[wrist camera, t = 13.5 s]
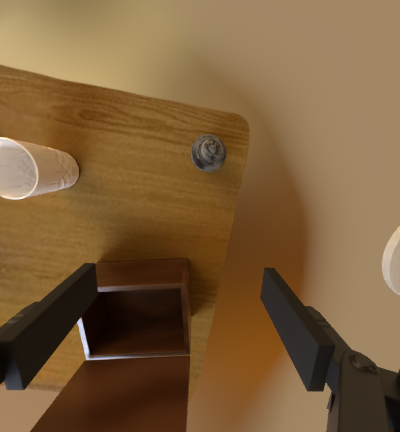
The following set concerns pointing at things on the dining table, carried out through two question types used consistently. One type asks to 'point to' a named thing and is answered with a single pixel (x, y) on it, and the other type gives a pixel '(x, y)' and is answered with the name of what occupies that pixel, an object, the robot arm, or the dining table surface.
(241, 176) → the dining table surface
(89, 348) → the chest
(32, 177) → the white cup
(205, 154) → the grey chess piece
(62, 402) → the brown wooden lid
